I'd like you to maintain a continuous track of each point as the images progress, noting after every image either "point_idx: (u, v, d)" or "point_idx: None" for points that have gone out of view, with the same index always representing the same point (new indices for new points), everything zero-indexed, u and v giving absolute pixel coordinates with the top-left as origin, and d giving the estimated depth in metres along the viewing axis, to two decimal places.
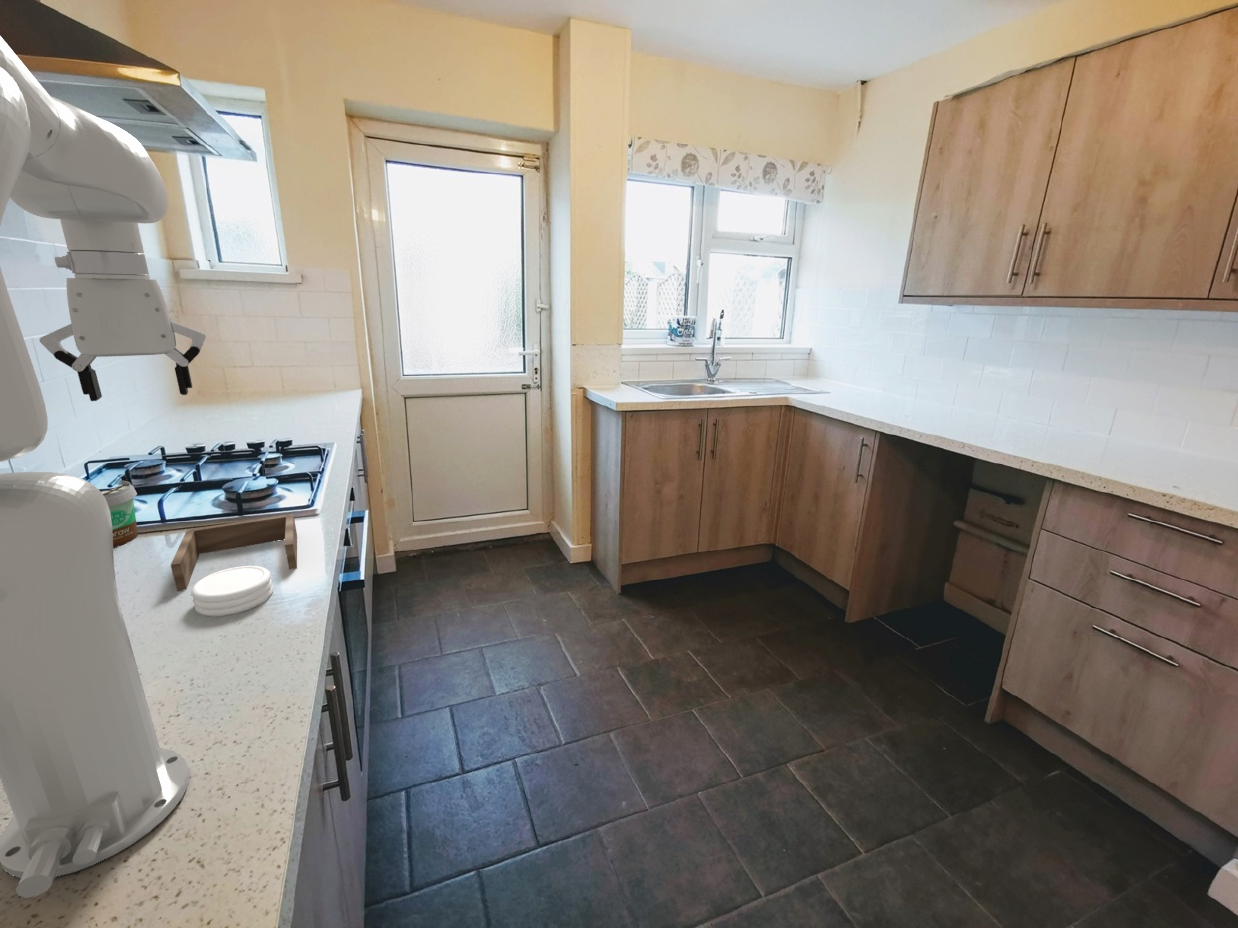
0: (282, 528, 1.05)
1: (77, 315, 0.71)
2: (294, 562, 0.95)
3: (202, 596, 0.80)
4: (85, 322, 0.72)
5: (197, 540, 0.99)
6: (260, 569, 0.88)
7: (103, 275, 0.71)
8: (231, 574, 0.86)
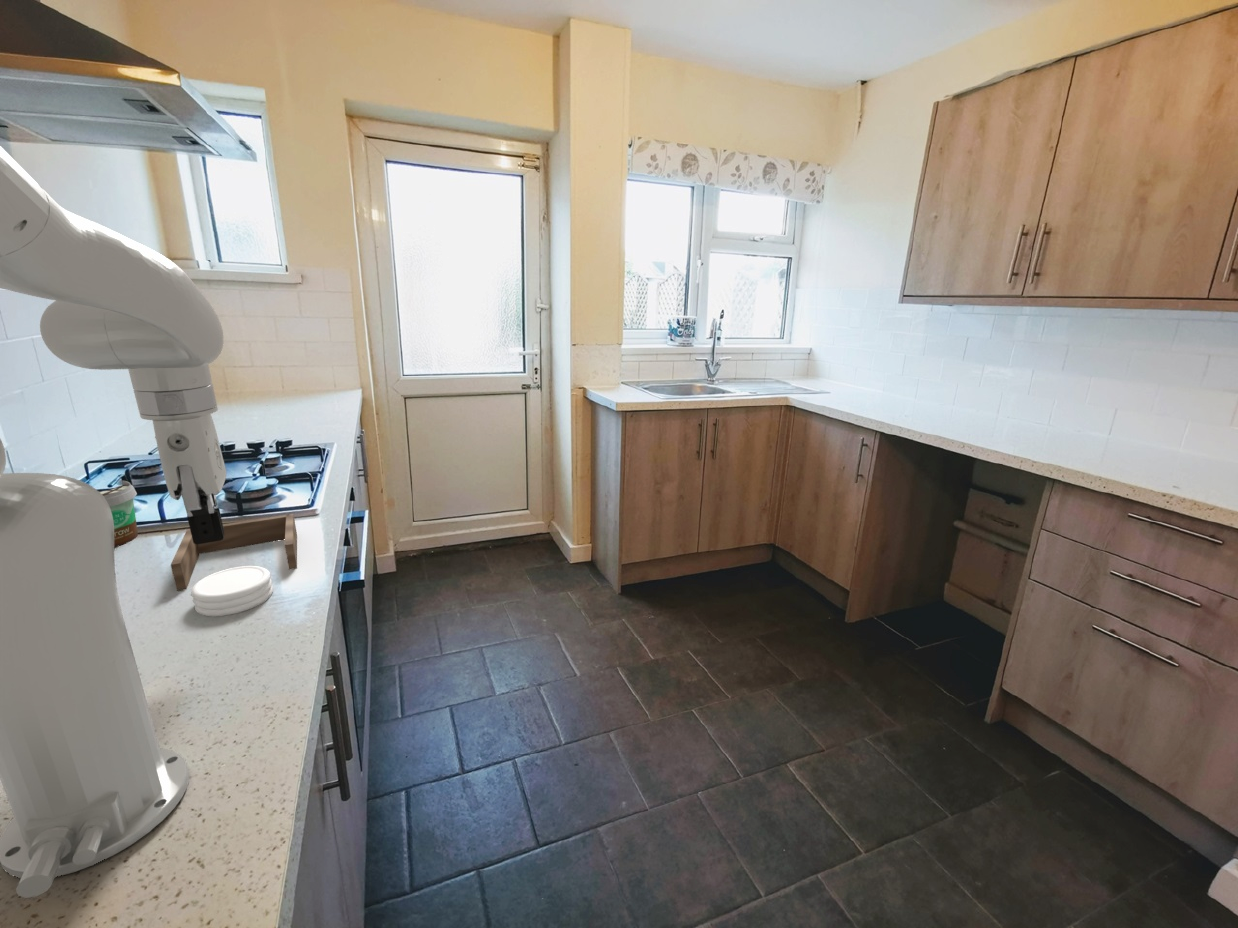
0: (282, 528, 1.05)
1: (210, 454, 0.67)
2: (294, 562, 0.95)
3: (202, 596, 0.80)
4: (213, 460, 0.68)
5: None
6: (260, 569, 0.88)
7: (216, 407, 0.69)
8: (231, 574, 0.86)
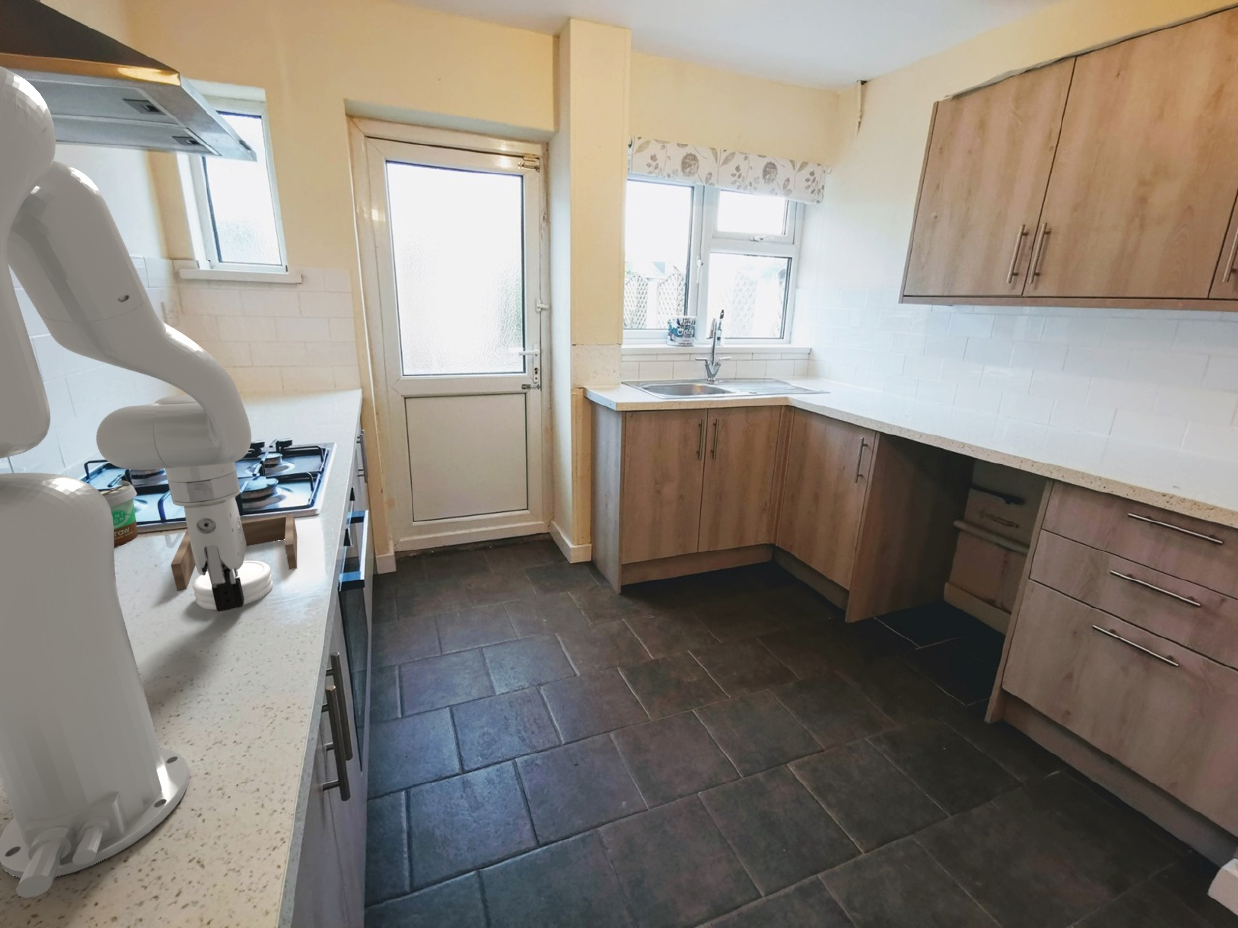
0: (282, 528, 1.05)
1: (233, 534, 0.75)
2: (294, 562, 0.95)
3: (204, 590, 0.82)
4: (236, 538, 0.76)
5: None
6: (260, 564, 0.90)
7: (239, 490, 0.77)
8: None
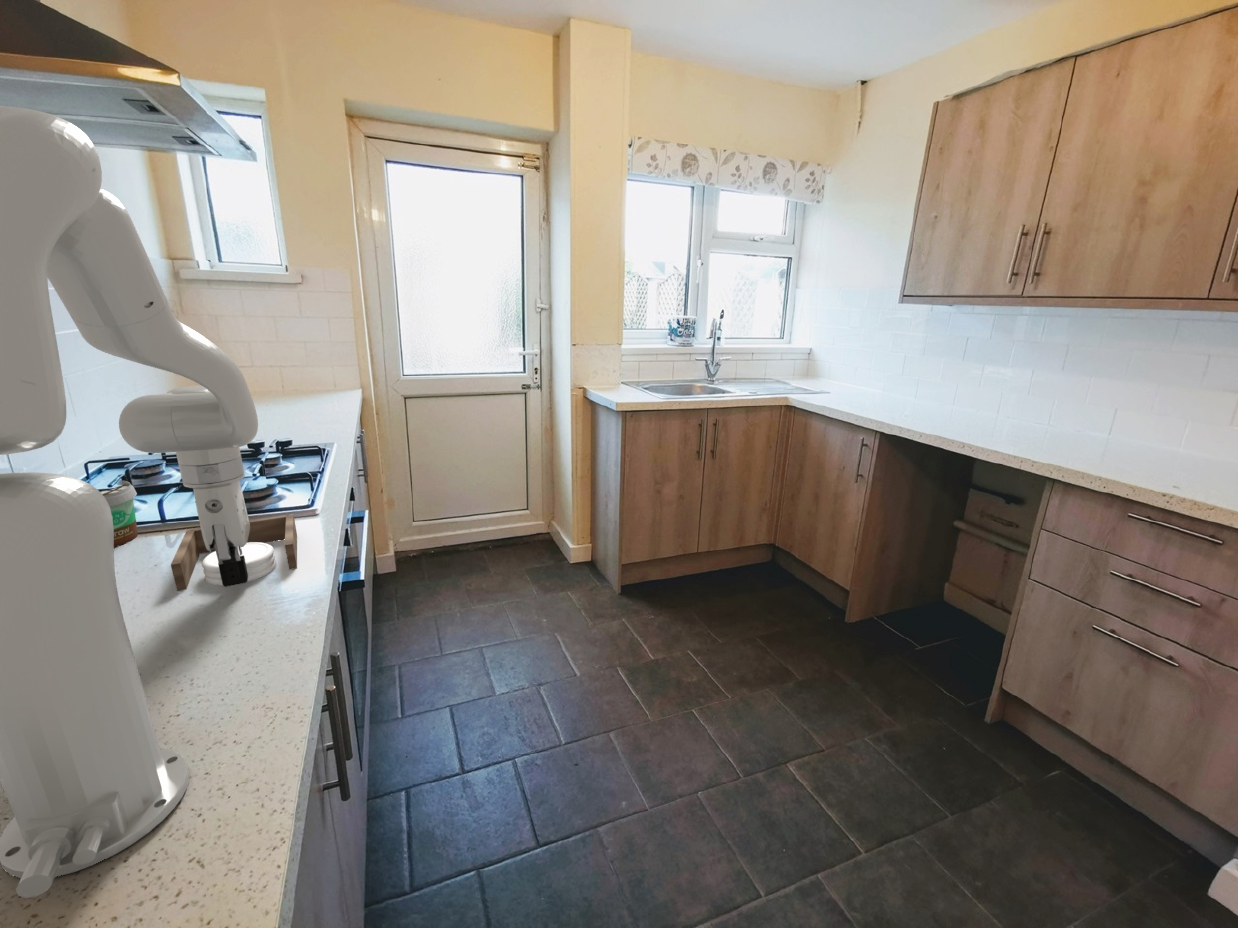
0: (282, 528, 1.05)
1: (238, 514, 0.82)
2: (294, 562, 0.95)
3: (211, 567, 0.88)
4: (241, 518, 0.83)
5: (197, 540, 0.99)
6: (264, 545, 0.96)
7: (243, 474, 0.84)
8: None
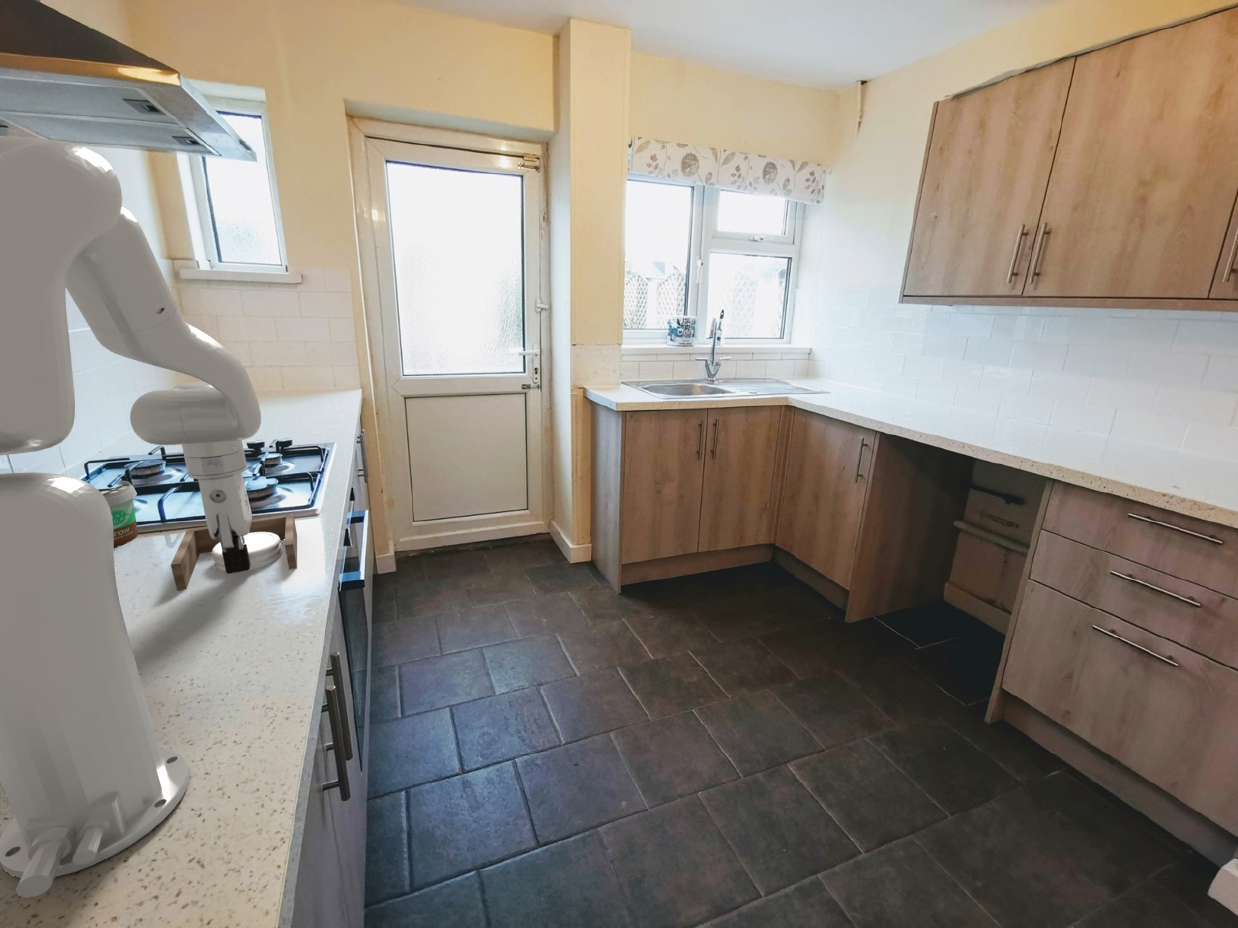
0: (282, 528, 1.05)
1: (241, 504, 0.86)
2: (294, 562, 0.95)
3: (219, 554, 0.93)
4: (243, 508, 0.87)
5: (197, 540, 0.99)
6: (272, 535, 1.01)
7: (246, 466, 0.88)
8: (247, 538, 0.99)
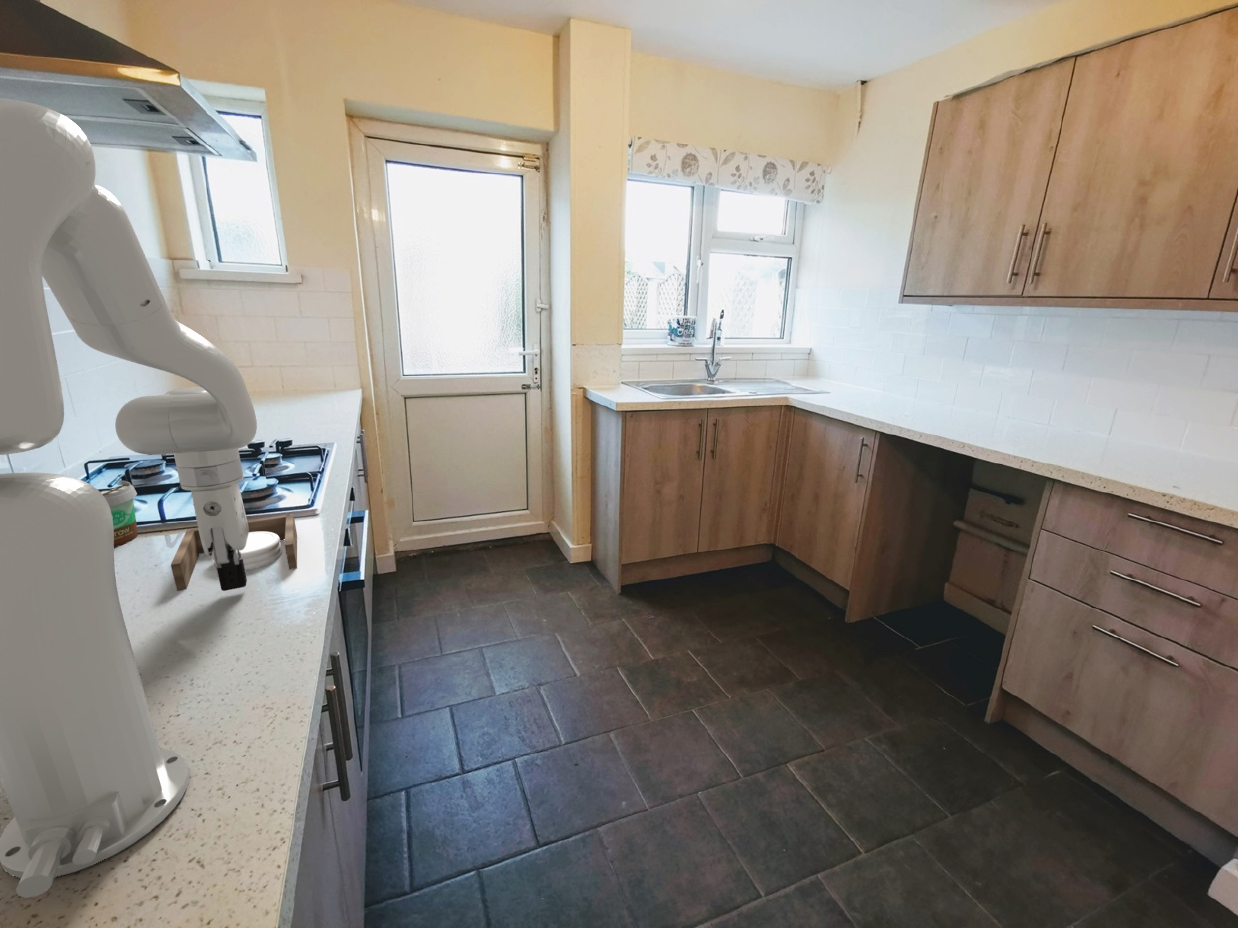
0: (282, 528, 1.05)
1: (237, 517, 0.81)
2: (294, 562, 0.95)
3: None
4: (239, 521, 0.82)
5: (197, 540, 0.99)
6: (271, 534, 1.01)
7: (242, 477, 0.83)
8: None
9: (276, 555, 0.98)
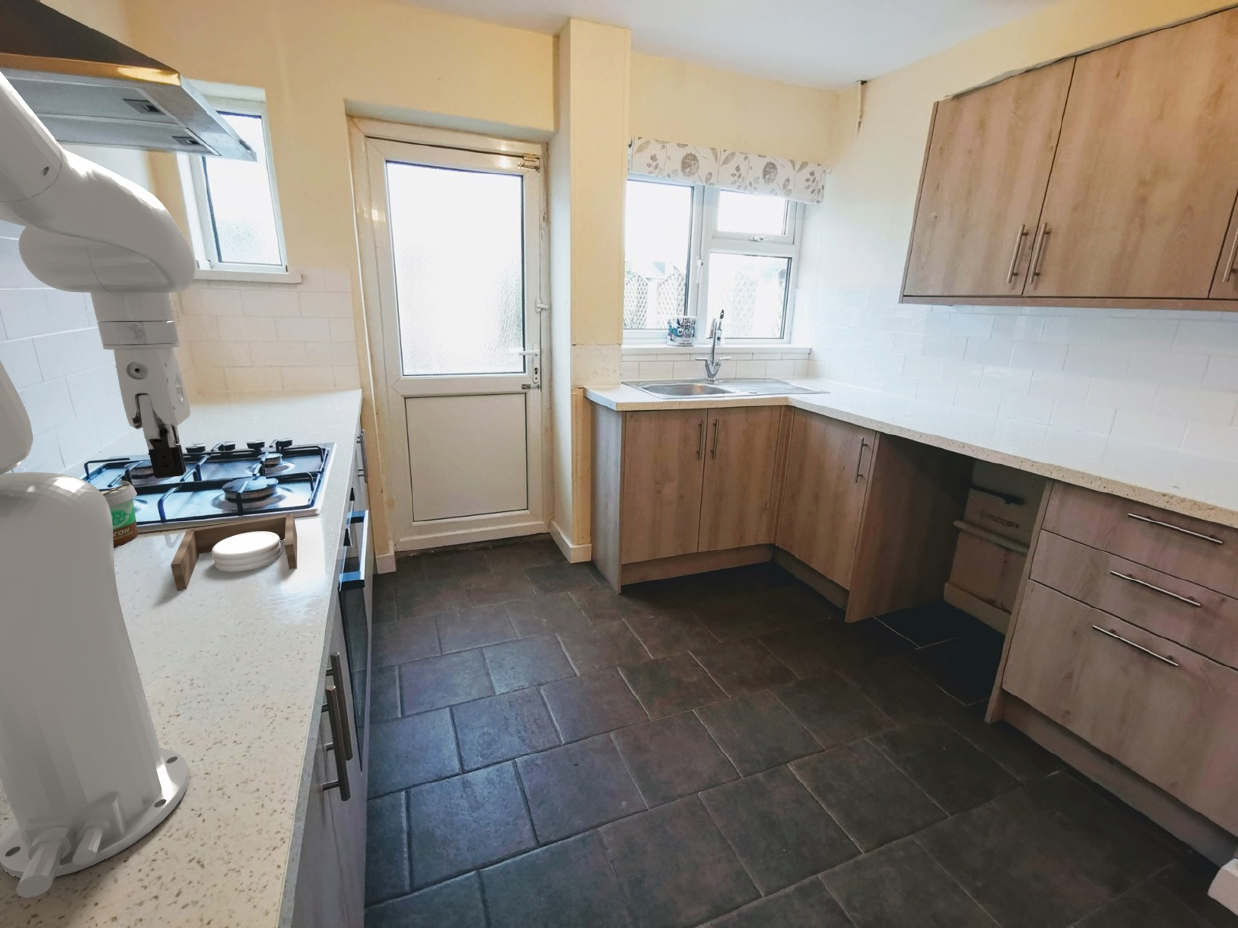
0: (282, 528, 1.05)
1: (168, 385, 0.70)
2: (294, 562, 0.95)
3: (219, 554, 0.93)
4: (172, 392, 0.71)
5: (197, 540, 0.99)
6: (271, 534, 1.01)
7: (178, 344, 0.72)
8: (247, 537, 0.99)
9: (276, 555, 0.98)
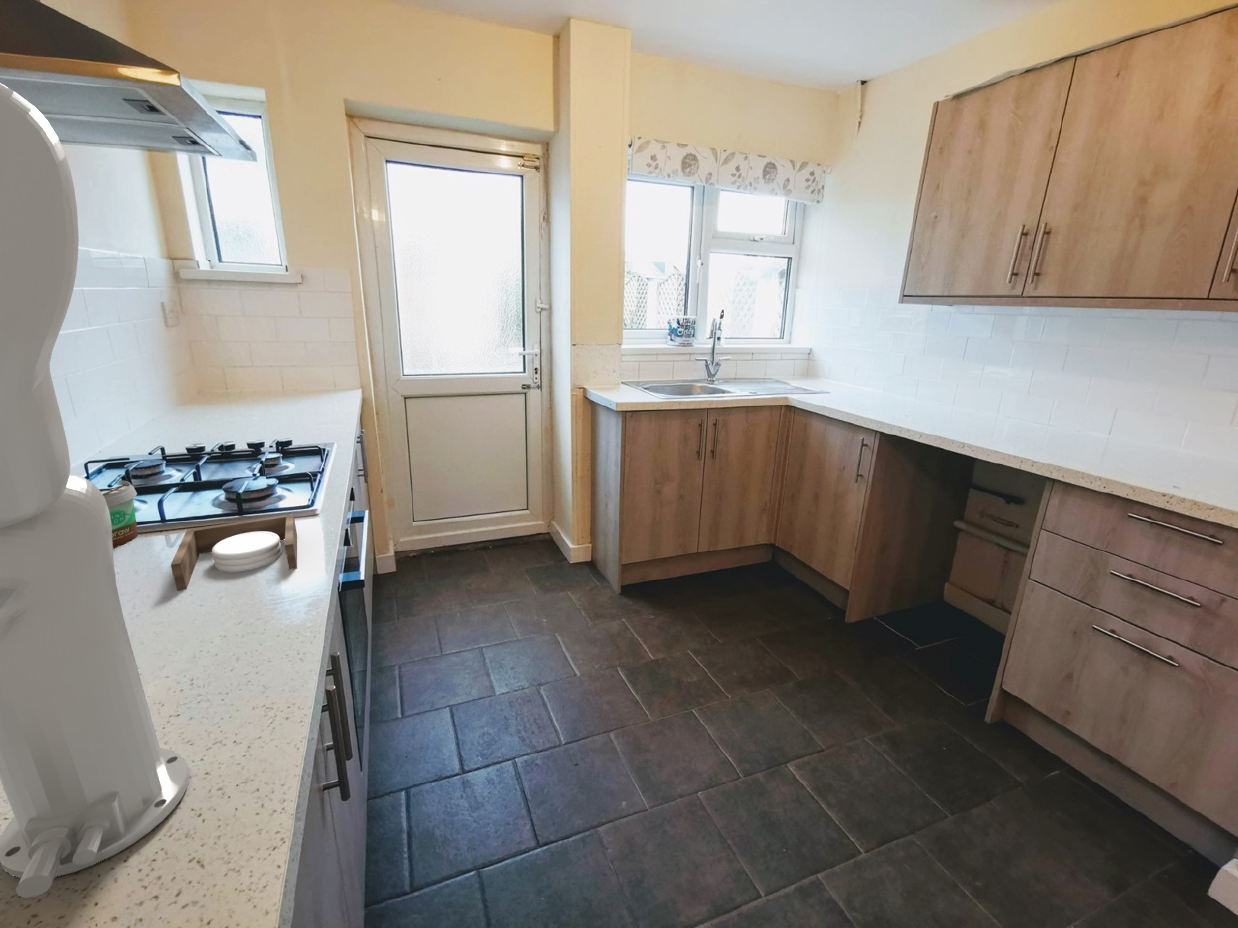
0: (282, 528, 1.05)
1: None
2: (294, 562, 0.95)
3: (219, 554, 0.93)
4: None
5: (197, 540, 0.99)
6: (271, 534, 1.01)
7: None
8: (247, 537, 0.99)
9: (276, 555, 0.98)
